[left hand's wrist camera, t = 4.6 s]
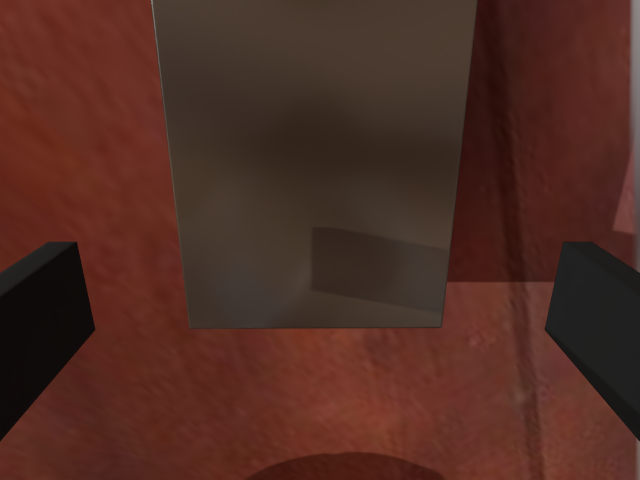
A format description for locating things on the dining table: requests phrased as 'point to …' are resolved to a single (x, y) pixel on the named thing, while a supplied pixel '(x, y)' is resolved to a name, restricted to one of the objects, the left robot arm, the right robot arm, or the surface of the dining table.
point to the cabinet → (314, 157)
